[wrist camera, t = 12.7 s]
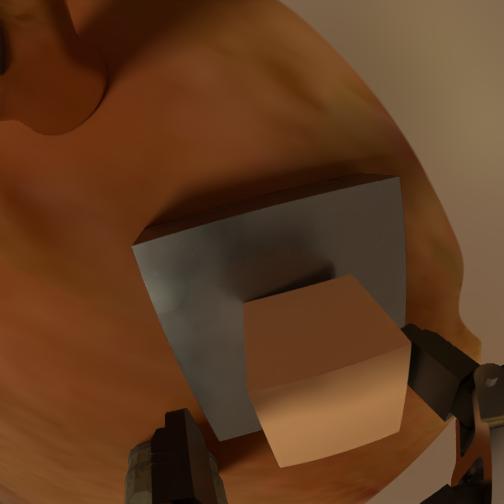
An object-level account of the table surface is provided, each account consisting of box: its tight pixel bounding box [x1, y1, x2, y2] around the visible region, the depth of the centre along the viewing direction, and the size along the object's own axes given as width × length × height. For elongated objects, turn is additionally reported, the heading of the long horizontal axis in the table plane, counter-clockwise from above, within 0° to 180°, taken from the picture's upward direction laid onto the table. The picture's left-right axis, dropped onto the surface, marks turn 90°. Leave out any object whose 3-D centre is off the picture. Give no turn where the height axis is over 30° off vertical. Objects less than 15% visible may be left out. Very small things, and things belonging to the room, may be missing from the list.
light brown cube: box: [243, 274, 411, 468], centre depth 12 cm, size 6×6×6 cm
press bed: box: [132, 173, 406, 441], centre depth 17 cm, size 14×14×4 cm
